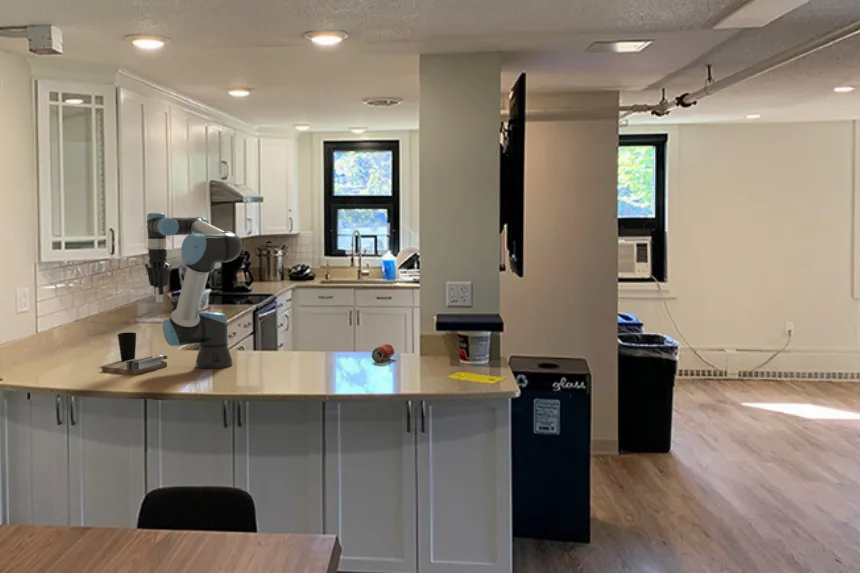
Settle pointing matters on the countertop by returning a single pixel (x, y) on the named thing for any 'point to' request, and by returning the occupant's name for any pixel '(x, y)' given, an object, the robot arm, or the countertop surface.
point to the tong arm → (129, 363)
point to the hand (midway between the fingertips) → (159, 302)
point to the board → (123, 369)
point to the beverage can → (382, 353)
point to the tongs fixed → (148, 362)
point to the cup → (127, 345)
